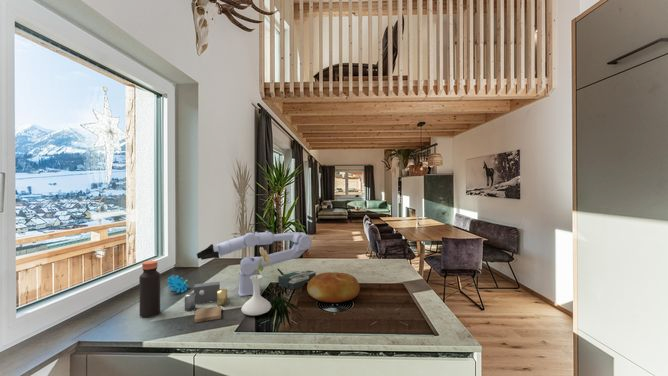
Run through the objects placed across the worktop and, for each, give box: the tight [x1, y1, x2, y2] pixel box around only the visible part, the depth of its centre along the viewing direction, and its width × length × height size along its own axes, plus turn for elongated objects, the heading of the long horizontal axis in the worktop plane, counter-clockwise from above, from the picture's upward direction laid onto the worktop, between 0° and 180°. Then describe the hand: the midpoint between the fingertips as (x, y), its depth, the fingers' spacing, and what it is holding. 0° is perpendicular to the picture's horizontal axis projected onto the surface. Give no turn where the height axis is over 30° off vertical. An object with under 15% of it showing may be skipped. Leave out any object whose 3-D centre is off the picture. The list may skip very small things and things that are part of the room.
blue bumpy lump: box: [166, 274, 189, 294], centre depth 134 cm, size 11×6×10 cm
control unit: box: [193, 281, 221, 304], centre depth 123 cm, size 10×5×7 cm, turn 112°
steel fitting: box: [184, 292, 197, 312], centre depth 114 cm, size 4×4×6 cm
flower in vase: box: [240, 246, 272, 316], centre depth 113 cm, size 13×11×25 cm
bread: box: [306, 271, 361, 304], centre depth 129 cm, size 23×23×10 cm
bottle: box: [138, 260, 161, 318], centre depth 110 cm, size 7×7×20 cm
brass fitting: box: [216, 288, 228, 307], centre depth 119 cm, size 4×4×6 cm
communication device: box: [277, 268, 317, 290], centre depth 148 cm, size 12×24×9 cm, turn 148°
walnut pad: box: [193, 306, 222, 323], centre depth 109 cm, size 9×9×1 cm
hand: (199, 256), depth 126 cm, fingers open, 7 cm apart
